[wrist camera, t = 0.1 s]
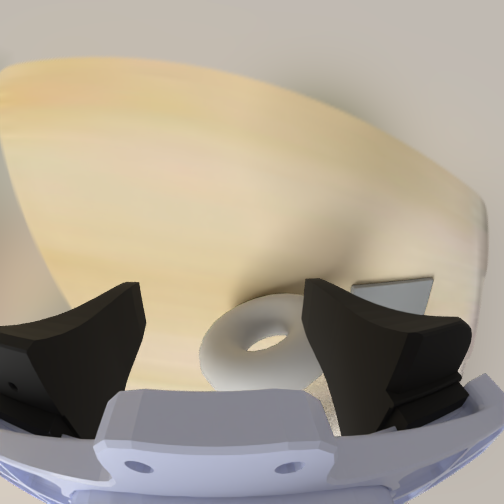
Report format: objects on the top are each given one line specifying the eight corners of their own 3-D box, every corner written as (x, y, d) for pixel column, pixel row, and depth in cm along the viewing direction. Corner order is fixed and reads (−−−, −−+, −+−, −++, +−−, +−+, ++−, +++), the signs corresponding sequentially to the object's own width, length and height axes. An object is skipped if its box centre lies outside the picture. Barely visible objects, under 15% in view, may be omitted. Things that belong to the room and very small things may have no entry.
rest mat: (407, 351, 28) (409, 354, 27) (335, 367, 27) (336, 371, 26) (430, 277, 24) (433, 279, 24) (351, 285, 23) (354, 288, 23)
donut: (309, 270, 22) (359, 342, 13) (317, 304, 24) (362, 381, 14) (196, 307, 23) (183, 396, 13) (211, 338, 24) (208, 427, 14)
